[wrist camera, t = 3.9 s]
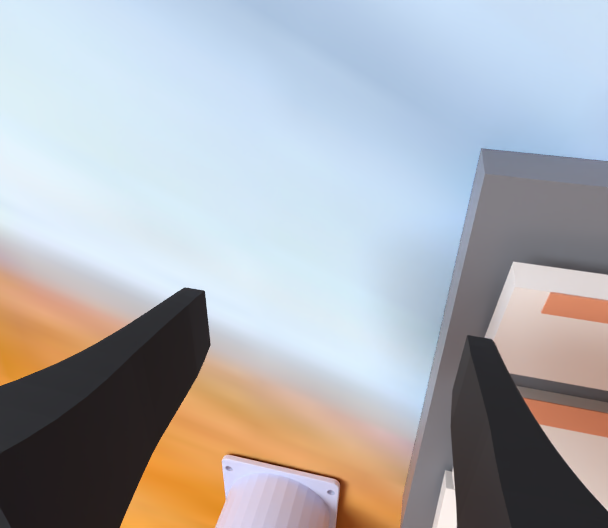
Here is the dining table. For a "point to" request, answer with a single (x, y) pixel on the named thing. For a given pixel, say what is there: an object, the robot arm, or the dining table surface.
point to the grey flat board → (492, 276)
